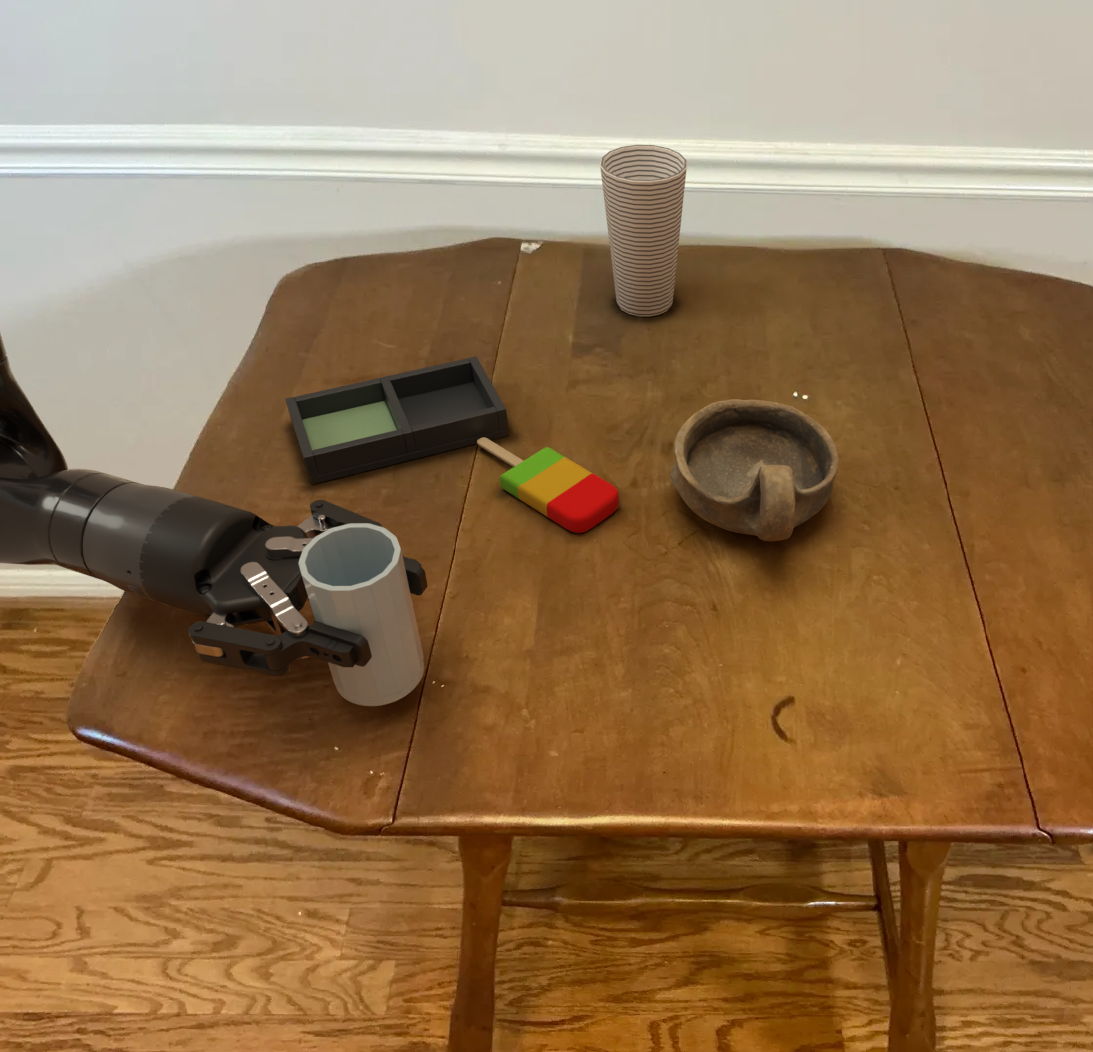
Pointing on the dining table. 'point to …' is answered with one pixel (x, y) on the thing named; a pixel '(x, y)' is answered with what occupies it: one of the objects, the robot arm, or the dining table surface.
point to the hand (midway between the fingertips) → (395, 615)
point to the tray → (396, 419)
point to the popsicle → (557, 487)
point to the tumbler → (366, 608)
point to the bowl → (754, 466)
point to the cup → (643, 224)
